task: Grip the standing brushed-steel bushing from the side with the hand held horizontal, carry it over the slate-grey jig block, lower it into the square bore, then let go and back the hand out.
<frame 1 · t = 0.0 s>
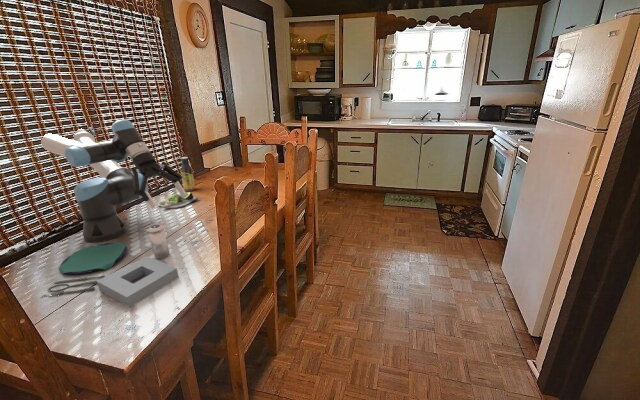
hand: (170, 201, 121), 15 cm above the table, tool tilted 35°, fingers open, 13 cm apart
sauce bottle: (189, 190, 181), on the table
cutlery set: (89, 269, 106), on the table
bushing: (162, 255, 112), on the table
jig: (140, 283, 96), on the table
salad plate: (179, 203, 163), on the table
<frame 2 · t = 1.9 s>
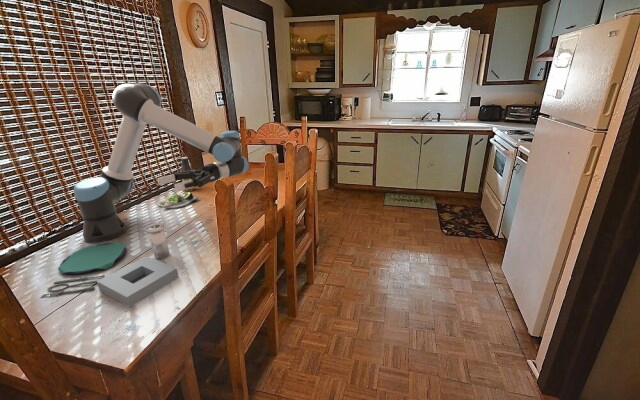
hand: (166, 184, 114), 24 cm above the table, tool horizontal, fingers open, 13 cm apart
nothing on the table moved.
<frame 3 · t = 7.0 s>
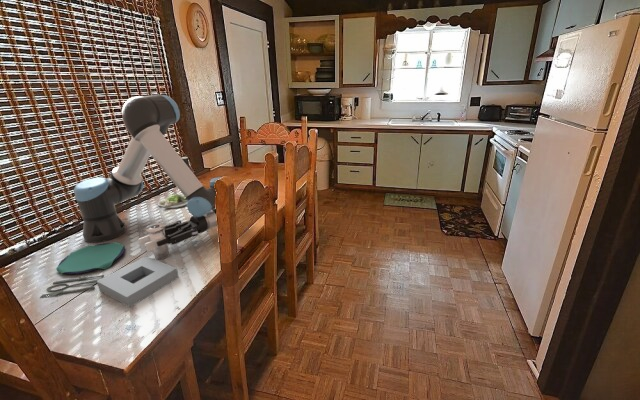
hand: (143, 244, 105), 7 cm above the table, tool horizontal, fingers closed on bushing, 5 cm apart
bushing: (162, 255, 112), on the table, touching gripper
everything else where it was.
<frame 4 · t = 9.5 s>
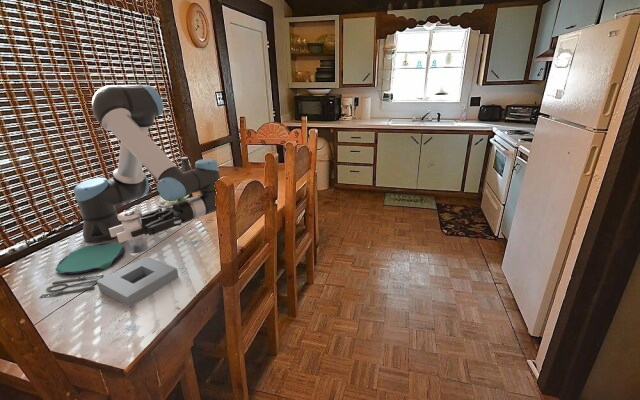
hand: (114, 235, 88), 18 cm above the table, tool horizontal, fingers closed on bushing, 5 cm apart
bushing: (139, 249, 95), point 11 cm above the table, touching gripper
everything else where it was.
when the fingers open (9 cm above the table, at t = 12.1 s): bushing drops 2 cm, resting on jig.
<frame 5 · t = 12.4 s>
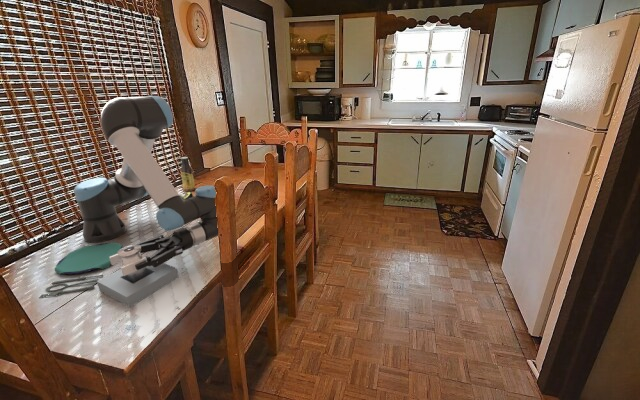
hand: (116, 266, 90), 9 cm above the table, tool horizontal, fingers open, 8 cm apart
bushing: (140, 282, 96), resting on jig
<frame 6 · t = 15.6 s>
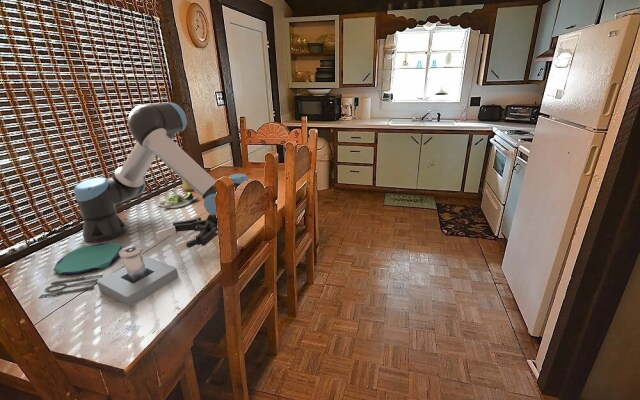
hand: (165, 242, 100), 10 cm above the table, tool horizontal, fingers open, 13 cm apart
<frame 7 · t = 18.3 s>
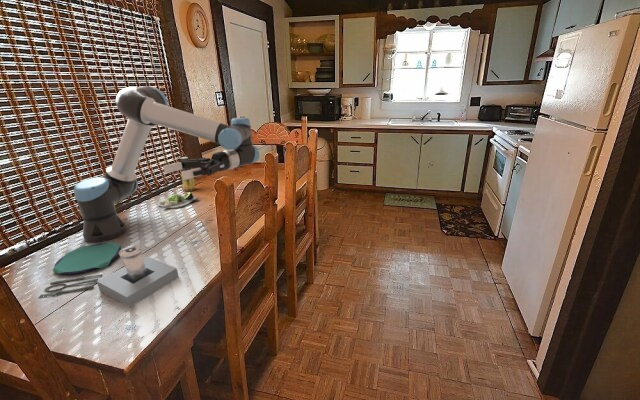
hand: (173, 172, 106), 30 cm above the table, tool horizontal, fingers open, 13 cm apart
at the end: bushing 0.1 cm off-centre on the jig, point 0.3 cm above the jig's base; bushing tilted 0°; the gripper is holding nothing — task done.
